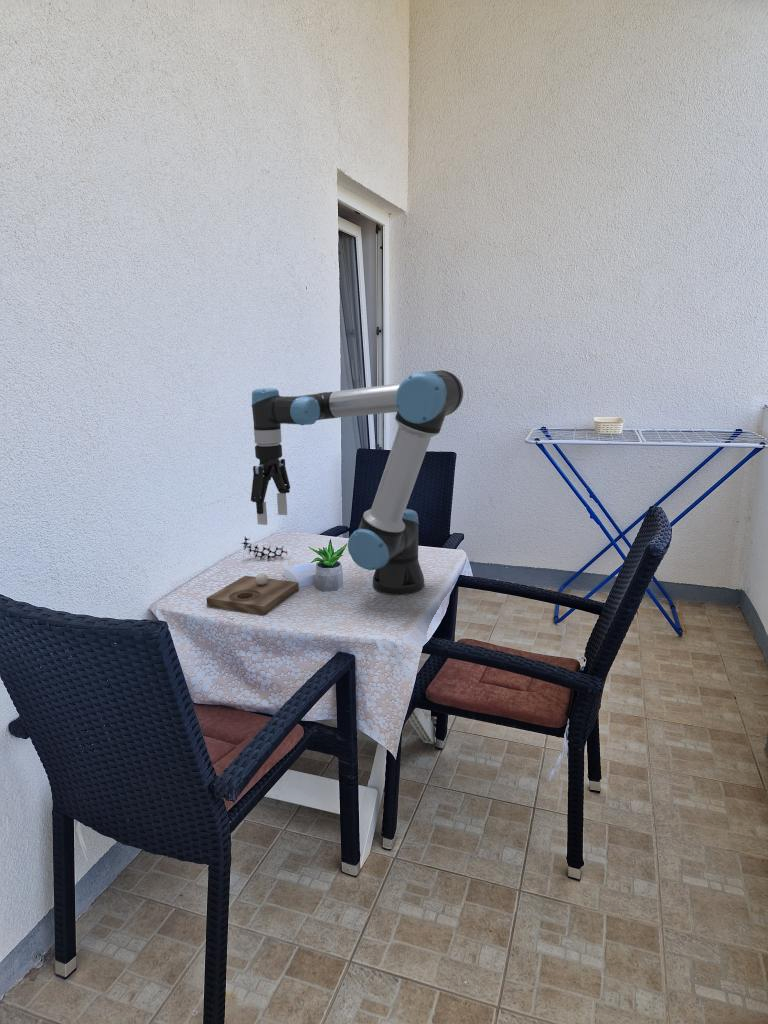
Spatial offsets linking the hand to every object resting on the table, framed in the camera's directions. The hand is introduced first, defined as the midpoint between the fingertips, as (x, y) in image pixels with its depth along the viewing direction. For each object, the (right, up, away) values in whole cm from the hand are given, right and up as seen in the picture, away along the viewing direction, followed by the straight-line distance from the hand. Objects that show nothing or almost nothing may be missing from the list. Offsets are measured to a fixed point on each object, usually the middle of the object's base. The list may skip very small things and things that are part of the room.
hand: (272, 519), depth 190 cm
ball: (-3, -17, -3) cm, 17 cm away
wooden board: (-4, -22, -6) cm, 23 cm away
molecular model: (-7, -14, +27) cm, 31 cm away
